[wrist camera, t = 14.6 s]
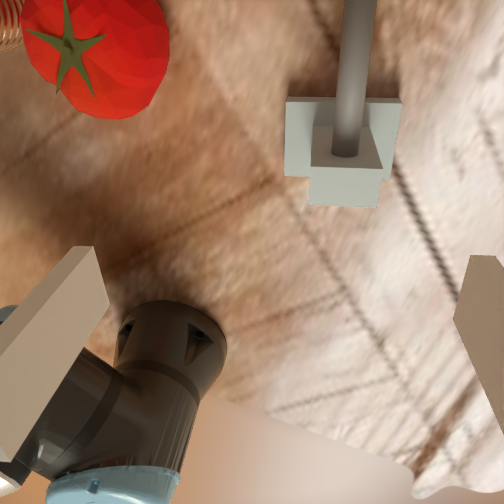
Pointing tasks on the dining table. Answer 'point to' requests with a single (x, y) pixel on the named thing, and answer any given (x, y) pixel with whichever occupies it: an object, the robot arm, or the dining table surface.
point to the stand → (344, 125)
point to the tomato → (98, 51)
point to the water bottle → (10, 24)
